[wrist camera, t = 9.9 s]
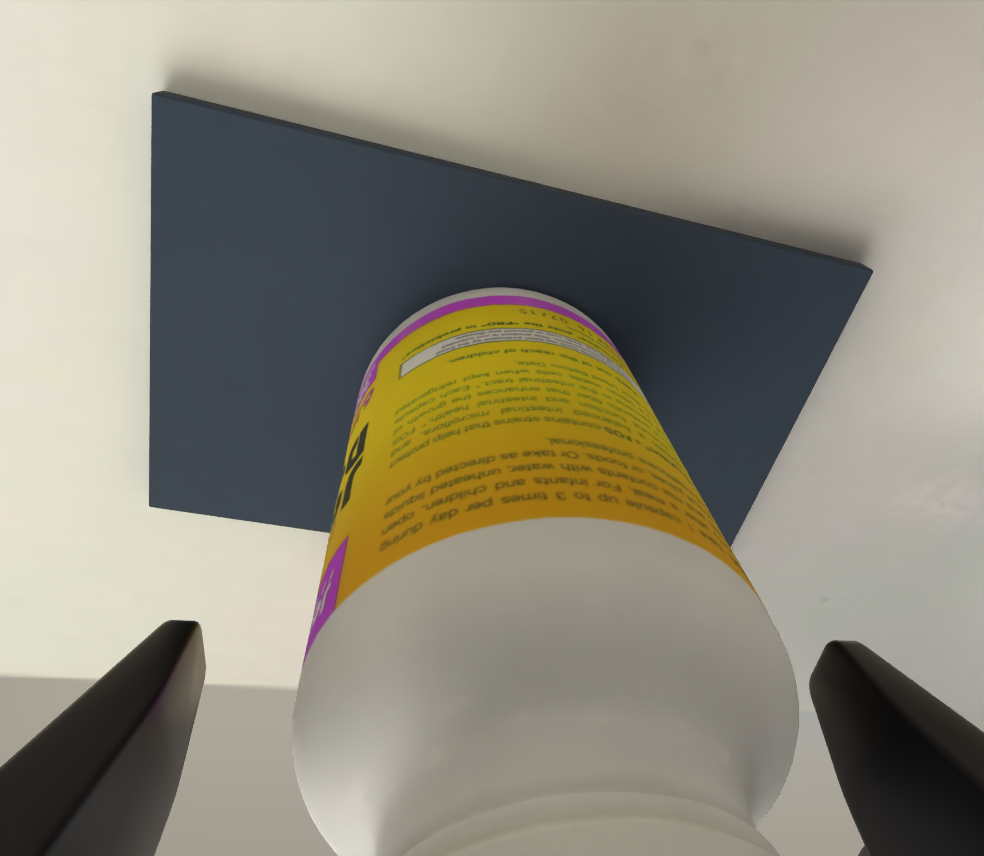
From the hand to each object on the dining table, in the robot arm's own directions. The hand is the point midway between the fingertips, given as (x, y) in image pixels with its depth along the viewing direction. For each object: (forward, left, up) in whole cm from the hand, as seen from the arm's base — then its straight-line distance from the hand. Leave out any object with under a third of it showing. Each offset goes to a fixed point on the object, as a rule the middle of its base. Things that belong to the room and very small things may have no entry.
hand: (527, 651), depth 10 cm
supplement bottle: (0, 0, -8) cm, 8 cm away
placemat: (0, 0, -9) cm, 9 cm away
